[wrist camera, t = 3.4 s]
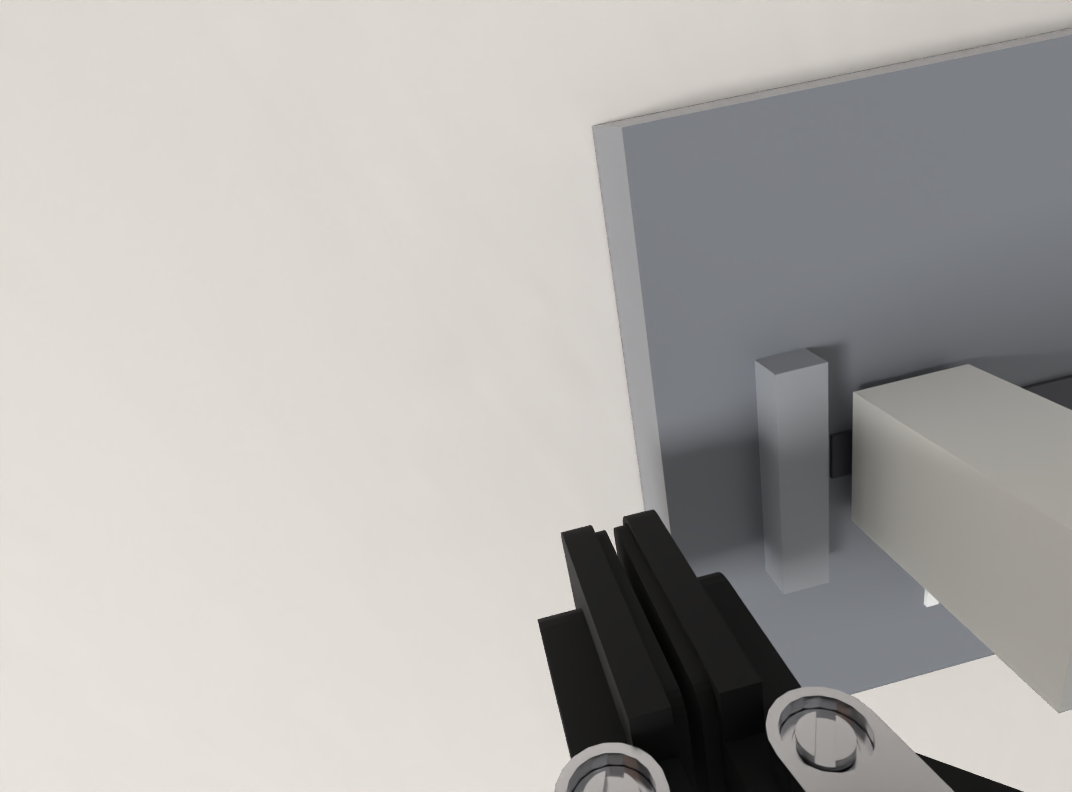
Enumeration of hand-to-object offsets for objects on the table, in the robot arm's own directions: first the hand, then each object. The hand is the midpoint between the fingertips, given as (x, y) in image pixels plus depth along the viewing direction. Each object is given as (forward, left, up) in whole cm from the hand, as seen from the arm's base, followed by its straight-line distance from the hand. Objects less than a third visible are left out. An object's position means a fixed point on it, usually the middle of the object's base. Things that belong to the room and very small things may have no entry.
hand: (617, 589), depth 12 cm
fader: (0, +7, -2) cm, 7 cm away
